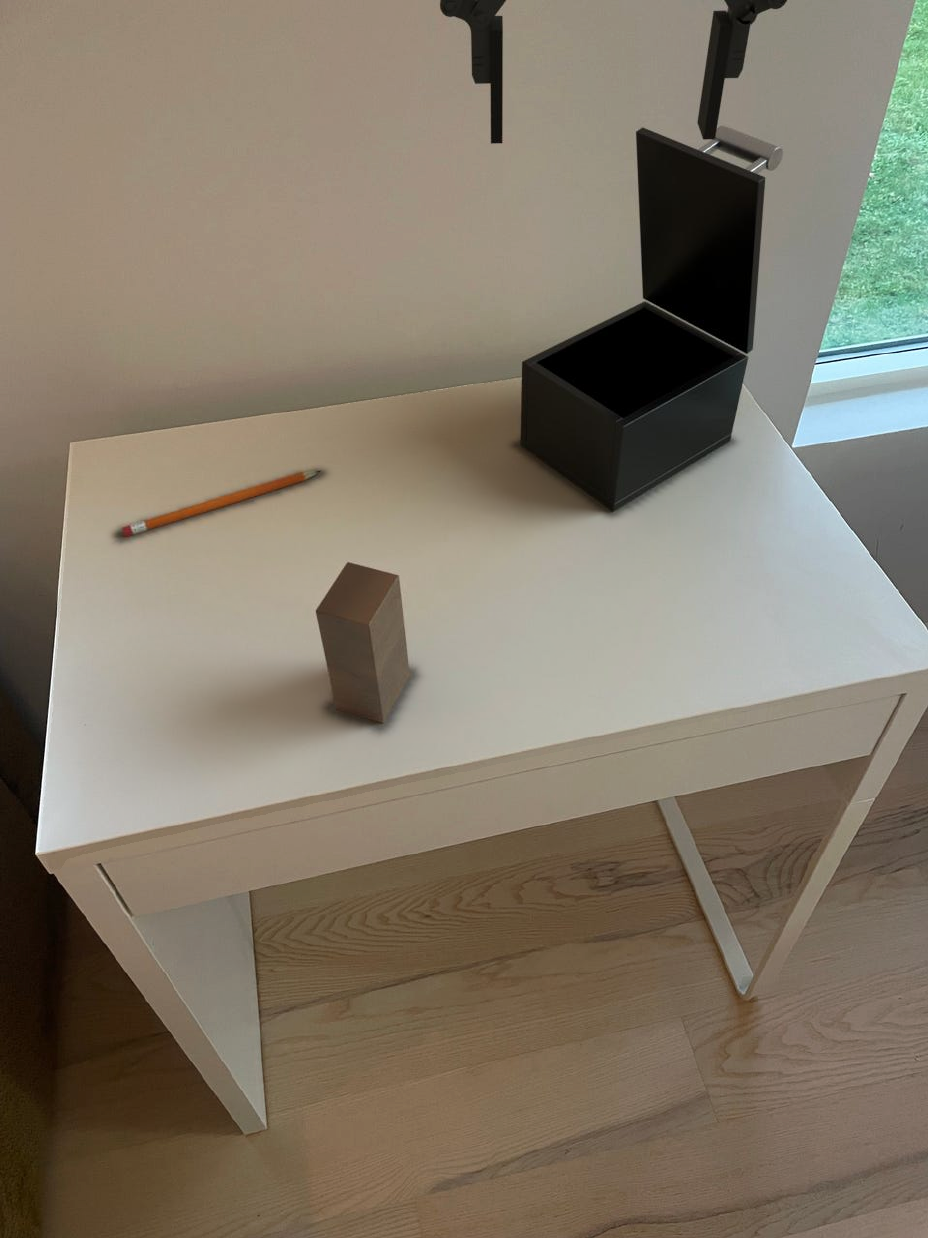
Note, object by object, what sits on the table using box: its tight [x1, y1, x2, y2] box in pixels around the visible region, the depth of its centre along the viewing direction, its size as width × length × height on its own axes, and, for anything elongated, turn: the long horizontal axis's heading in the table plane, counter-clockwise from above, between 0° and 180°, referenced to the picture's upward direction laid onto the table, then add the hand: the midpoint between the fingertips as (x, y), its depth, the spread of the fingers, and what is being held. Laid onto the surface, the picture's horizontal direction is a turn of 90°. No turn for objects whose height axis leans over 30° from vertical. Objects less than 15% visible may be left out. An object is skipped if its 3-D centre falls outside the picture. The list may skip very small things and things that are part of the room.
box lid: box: [635, 124, 784, 355], centre depth 84 cm, size 17×13×7 cm
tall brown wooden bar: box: [315, 561, 411, 724], centre depth 70 cm, size 4×5×11 cm
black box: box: [519, 300, 749, 513], centre depth 90 cm, size 16×13×9 cm
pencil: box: [121, 470, 321, 538], centre depth 89 cm, size 1×19×1 cm, turn 116°
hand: (600, 133), depth 63 cm, fingers open, 13 cm apart
